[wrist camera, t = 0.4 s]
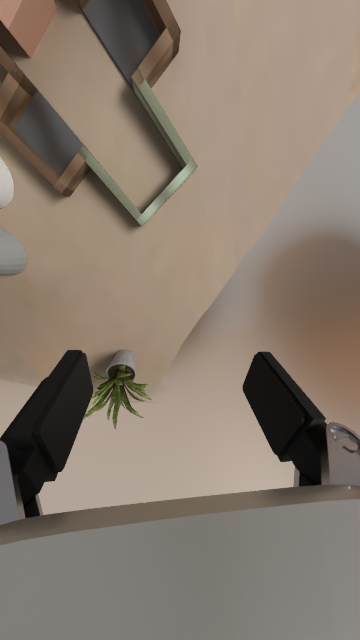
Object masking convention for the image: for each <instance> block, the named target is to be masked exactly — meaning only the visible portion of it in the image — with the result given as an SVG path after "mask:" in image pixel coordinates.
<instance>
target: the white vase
mask: <svg viewBox="0 0 360 640" xmlns="http://www.w3.org/2000/svg"><path fill="white" fill-rule="evenodd" d="M13 193H14V188H13V181H12V177H11V174H10V172H9V170H8V168H7V166H6V164H5V163H4V162H3V160H2V159H1V158H0V208H3V207H5V206H6V205H8V204H9V202H10V201H11V200H12V197H13Z"/></svg>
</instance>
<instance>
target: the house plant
mask: <svg viewBox="0 0 360 640" xmlns="http://www.w3.org/2000/svg"><path fill="white" fill-rule="evenodd" d="M94 377H95V378H97V379H108V381H106V382H105V383H103V384H101V385H100V386H99V387H98V388H97V387H95V388H97V389H99V391H97V392H96V393H95V395H94V396H93V397H91V399H92V398H94V397H95V396H96V395H98V396H99V397H97V398H96V399H95V400H94V401H93V402H92V403H91V404H90V405H89V406H91V405H92V404H94V403H95V402H96V401H97V400H98V399H99V398H100V397H102V398H101V399H100V400H99V401H98V403H97V404H96V405H95V406H94V407H93V408H91V410H89V411H88V412H87V413H86V414H85V415H84V418H86V417H88V416H89V415H91V414H92V413H93V412H95V411H98V410H100V409H101V408H102V407H104V406H105V405H106V403H107V402H108V400H109V399H110V397H111V401H110V405H109V408H108V412H107V416H108V419H109V416H110V412H111V408H112V406H113V404H114V403H115V405H114V412H113V423H114V427H115V428H116V423H117V415H118V409H119V407H120V404H122V405H123V403H122V401H123V402H124V404H125V406H126V408H127V410H129V411H130V412H131V413H133V414H134V415H137V416H139V417H141V418H143V417H142V416H140V415H139V414H137V413H136V411H135V410H134V409H133V408H132V407H131V405H130V403H129V400H128V397H127V395H126V392H125V389H124V386H125V384H127V386H128V387H129V388H130V389H131V390H133V391H134V392H137V394H139V395H140V396H142V397H145V398H147V399H150V397H149V396H147V395H146V394H145V393H144V390H143V389H141V388H145V387H146V386H147V385H148V384H136V383H134V382H132V381H133V380H134V379H135V377H136V364H135V355H134V353H133V352H131V351H129V350H120V351H119V352H118V353H117V354H116V355H115V357H114V359H113V360H112V362H111V363H110V365H109V366H108V368H107V370H106V377H101V376H98V375H96V374H95V373H94ZM112 388H113V391H112V392H111V394H110V396H109V397H108V399H107V400H106V401H105V403H103V402H104V400H105V399H106V397H107V396H108V394H109V393H110V391H111V390H112ZM125 388H126V389H127V387H126V386H125ZM127 391H128V393H129V394H130V395H131V396H132V397H133V398H134V399H136V400H139V401H144V400H141V399H139V398H137V397H135V396H134V395H133V394H132V393H131V392H130V391H129V390H128V389H127ZM124 393H125V395H124ZM111 395H112V396H111ZM150 400H151V399H150ZM127 401H128V402H127ZM102 403H103V404H102ZM89 406H88V407H89ZM123 406H124V405H123ZM84 418H83V419H84Z"/></svg>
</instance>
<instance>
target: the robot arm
mask: <svg viewBox="0 0 360 640" xmlns="http://www.w3.org/2000/svg"><path fill="white" fill-rule="evenodd" d="M243 392H244V394H245V396H246V398H247V400H248V402H249V404H250V406H251V408H252V410H253V412H254V414H255V416H256V418H257V420H258V422H259V424H260V426H261V428H262V430H263V432H264V434H265V436H266V439H267V440H268V443H269V445H270V447H271V448H272V451H273V452H274V453H275V454H276V455H277V456H278V458H279V460H280V462H287V461H291V460H292V462H293V464H294V465H295V473H294V487H290V488H280V489H270V490H260V491H251V492H240V493H231V494H221V495H212V496H202V497H193V498H184V499H176V500H166V501H156V502H147V503H138V504H129V505H120V506H111V507H102V508H94V509H86V510H78V511H71V512H63V513H55V514H48V515H43V512H42V508H41V504H40V500H39V496H38V493H39V492H40V490H41V488H42V486H43V484H44V482H48V481H55V479H56V477H57V474H58V472H61V471H62V470H63V469H64V467H65V464H66V462H67V459H68V456H69V454H70V451H71V449H72V446H73V444H74V441H75V438H76V436H77V433H78V430H79V428H80V426H81V423H82V420H83V418H84V415H85V413H86V410H87V408H88V405H89V402H90V400H91V397H92V394H93V385H92V381H91V376H90V371H89V367H88V362H87V357H86V354H85V353H82V351H81V350H68V351H67V352H66V353H65V354H64V356H63V357H62V359H61V360H60V361H59V363H58V364H57V365H56V367H55V368H54V370H53V371H52V372H51V374H50V375H49V377H47V378H45V379H44V380H43V381H42V382H41V383H40V385H39V386H38V387H37V389H36V390H35V392H34V393H33V394H32V396H31V397H30V399H29V400H28V401H27V402H26V404H25V405H24V407H23V408H22V409H21V411H20V412H19V413H18V415H17V416H16V417H15V419H14V420H13V421H12V423H11V424H10V425H9V427H8V428H7V430H6V431H5V432H4V434H3V435H2V436H1V438H0V640H360V436H359V435H358V434H356V433H355V432H354V431H353V430H351V429H350V428H348V427H346V426H344V425H342V424H339V423H335V422H332V423H329V424H326V423H325V422H324V421H325V419H326V418H325V417H324V416H323V414H322V413H321V412H320V411H319V410H318V408H317V407H316V406H315V405H314V404H313V403H312V401H311V400H310V399H309V398H308V397H307V396H306V394H305V393H304V392H303V391H302V390H301V388H300V387H299V386H298V385H297V384H296V383H295V381H294V380H293V379H292V378H291V377H290V375H289V374H288V373H287V372H286V371H285V369H284V368H283V367H282V366H281V365H280V364H279V362H278V361H277V360H276V359H275V358H274V357H273V355H272V354H271V353H270V352H258V353H257V354H256V355H255V356H254V358H253V361H252V363H251V366H250V369H249V371H248V373H247V376H246V379H245V381H244V384H243Z"/></svg>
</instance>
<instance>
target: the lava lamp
mask: <svg viewBox="0 0 360 640" xmlns="http://www.w3.org/2000/svg"><path fill="white" fill-rule="evenodd" d="M26 265H27V255H26V252H25V249H24V248H23V246H22V245H21V243H20V242H19V241H18V240H17V239H16V238H15V237H14V236H13V235H12V234H11V233H9V232H8V231H6V230H4V229H2V228H0V274H2V275H15V274H18V273H21V272H22V271H23V270H24V269H25V267H26Z"/></svg>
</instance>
